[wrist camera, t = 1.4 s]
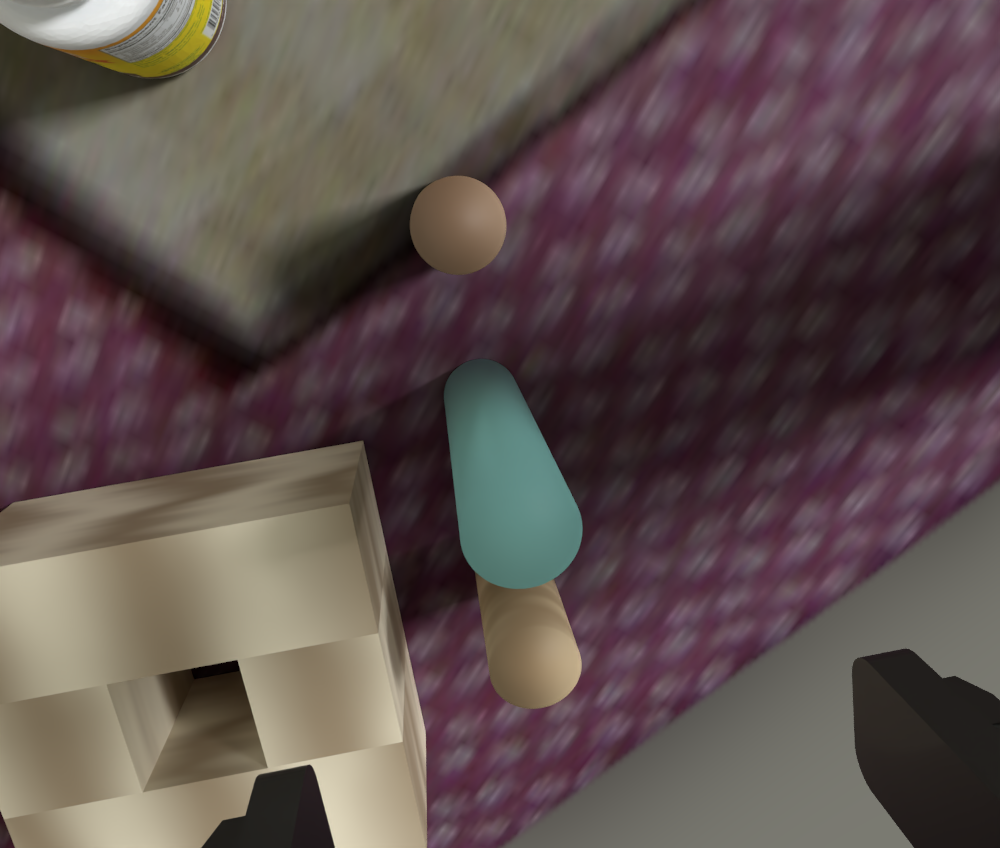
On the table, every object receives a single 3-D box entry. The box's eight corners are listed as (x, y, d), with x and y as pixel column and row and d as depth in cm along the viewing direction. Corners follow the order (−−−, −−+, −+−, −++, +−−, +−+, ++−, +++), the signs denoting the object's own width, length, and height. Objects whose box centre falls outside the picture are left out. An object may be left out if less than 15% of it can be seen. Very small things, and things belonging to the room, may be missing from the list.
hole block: (363, 440, 34) (349, 503, 27) (425, 732, 38) (426, 850, 31) (12, 502, 33) (-91, 582, 26) (113, 792, 37) (46, 926, 30)
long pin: (511, 353, 33) (573, 464, 20) (522, 424, 34) (589, 576, 21) (437, 365, 33) (450, 486, 20) (450, 437, 34) (470, 599, 21)
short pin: (483, 171, 31) (498, 168, 26) (496, 252, 32) (512, 266, 26) (404, 185, 31) (401, 184, 25) (419, 265, 32) (419, 282, 26)
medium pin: (536, 513, 35) (575, 618, 27) (546, 577, 36) (586, 698, 28) (467, 526, 35) (482, 636, 27) (478, 589, 36) (497, 716, 27)
